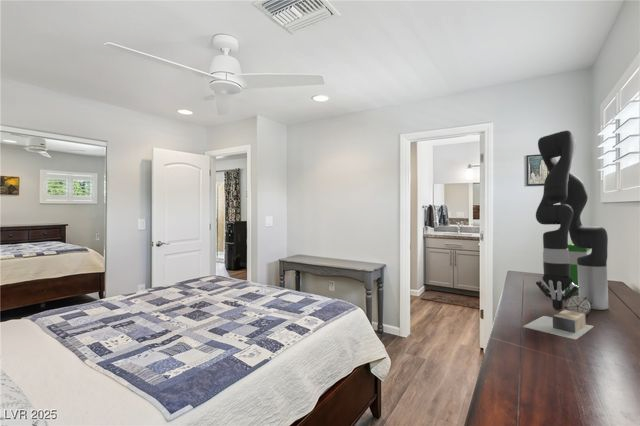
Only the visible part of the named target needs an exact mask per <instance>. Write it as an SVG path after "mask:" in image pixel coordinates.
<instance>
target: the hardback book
mask: <svg viewBox="0 0 640 426" xmlns="http://www.w3.org/2000/svg"><path fill="white" fill-rule="evenodd" d="M568 251H569V256H570V277H571V279H572V282H573V283H574V284H575V285H577V286H578V271H577V258H578V257H582V256H587V255H589V254H591V252H592V249H589V248H578V247H576V246H574V244H573V243H572V241H571V242H568ZM570 290H571V289H570V286H569V287H568V288H567V293H568V292H569V291H570ZM577 294H579V292H578V291H577V292H576V293H575V294H574V295H573V296H577Z"/></svg>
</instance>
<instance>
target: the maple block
mask: <svg viewBox="0 0 640 426" xmlns="http://www.w3.org/2000/svg"><path fill="white" fill-rule="evenodd" d="M586 317H587V316H586V315H585V314H584V313H579V312H573V311H569V310H568V309H562V310H561V311H559V312H558V313H555V314H554V315H552V318H553V328H555V329H559V330H564V331H568V332H573V333H576V332H577V331H578V330H580V329H581V328H583V327H584V326H586V325H587V323H586V320H587V319H586Z"/></svg>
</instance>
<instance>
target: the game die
mask: <svg viewBox="0 0 640 426" xmlns="http://www.w3.org/2000/svg"><path fill="white" fill-rule="evenodd" d="M586 298H587V297H585V298H583V297H581V296H579V294H577V296H571V297H570V298H569V299H567V300H564V301H565V302H566V304H565V306H564V308H563V309H566V310H568V311H573V312H579V313H584V314H585V317H589V315H588V314H589V313H590V312H591V313H592V312H594V311H593V309H592V310H591V308H590V304H593V303H589V302H588V301H587V300H586Z"/></svg>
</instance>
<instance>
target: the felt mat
mask: <svg viewBox="0 0 640 426" xmlns="http://www.w3.org/2000/svg"><path fill="white" fill-rule="evenodd" d="M594 327H595V326H594V325H591V324H590V325H589V324H586V326H584V327H583V328H581V329H580V330H578V331H577V332H576V333H573V332H568V331H564V330H559V329H555V328H553V316H552V317H551V316H546V315H542V316H540V317H539V318H537V319H534V320H532V321H530V322H529V323H528V322H527V324H524V325H522V328H527V329H530V330H534V331H539V332H542V333H547V334H552V335H554V336H555V335H556V336H559V337H563V338H567V339H572V340H575V341H576V340H578V339H579V338H581V336H584V334H586V333H587V332H589V331H590V330H591V329H593V328H594Z"/></svg>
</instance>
